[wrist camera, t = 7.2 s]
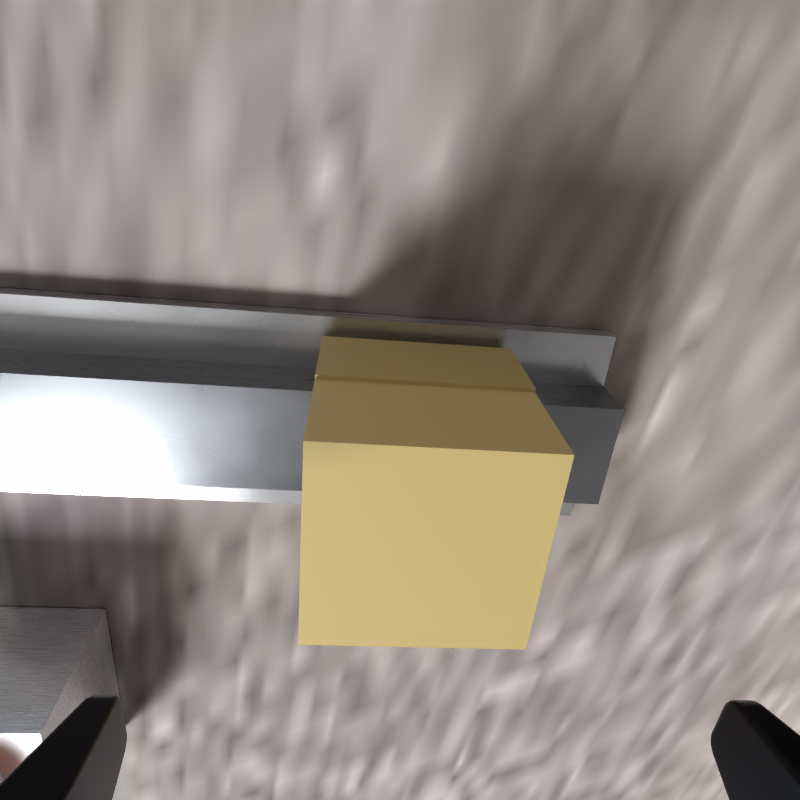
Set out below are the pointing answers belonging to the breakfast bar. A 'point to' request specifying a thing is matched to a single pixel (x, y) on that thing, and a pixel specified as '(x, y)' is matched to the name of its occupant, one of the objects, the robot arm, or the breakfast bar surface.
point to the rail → (232, 393)
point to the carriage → (425, 497)
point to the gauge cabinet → (48, 673)
